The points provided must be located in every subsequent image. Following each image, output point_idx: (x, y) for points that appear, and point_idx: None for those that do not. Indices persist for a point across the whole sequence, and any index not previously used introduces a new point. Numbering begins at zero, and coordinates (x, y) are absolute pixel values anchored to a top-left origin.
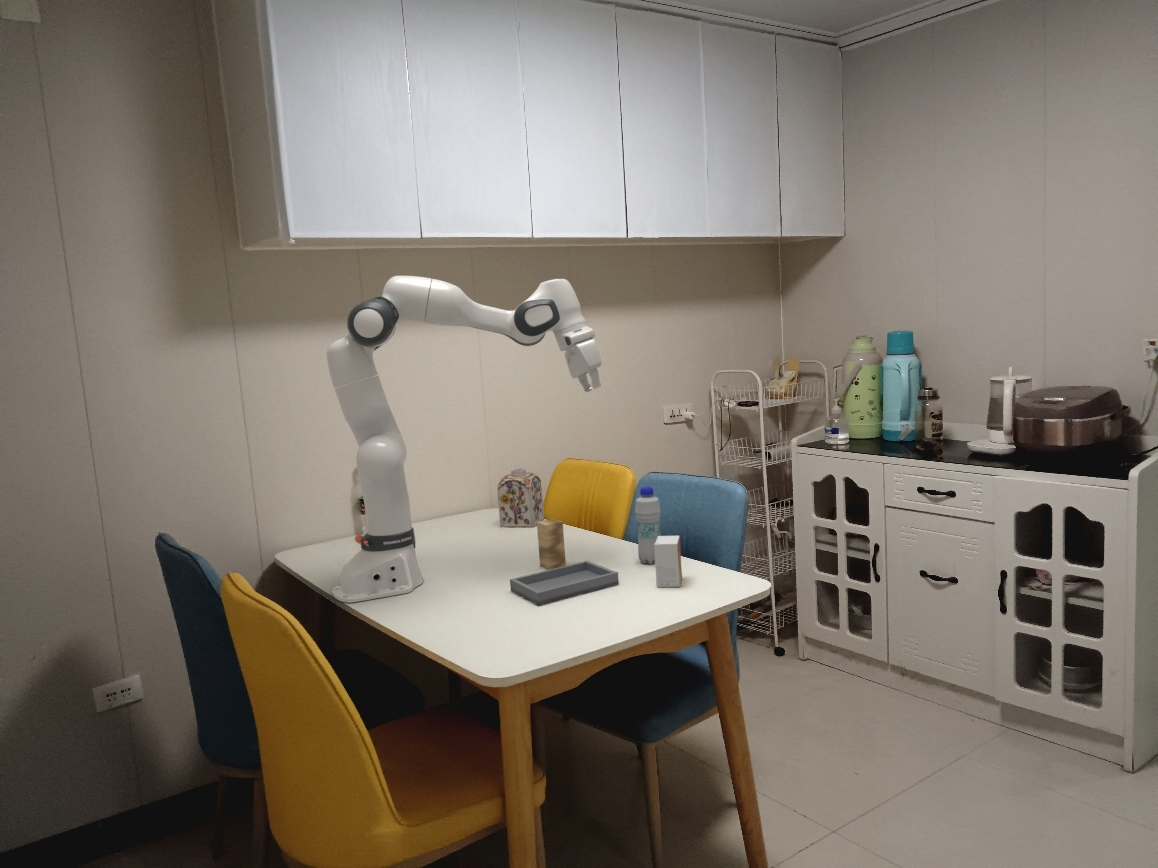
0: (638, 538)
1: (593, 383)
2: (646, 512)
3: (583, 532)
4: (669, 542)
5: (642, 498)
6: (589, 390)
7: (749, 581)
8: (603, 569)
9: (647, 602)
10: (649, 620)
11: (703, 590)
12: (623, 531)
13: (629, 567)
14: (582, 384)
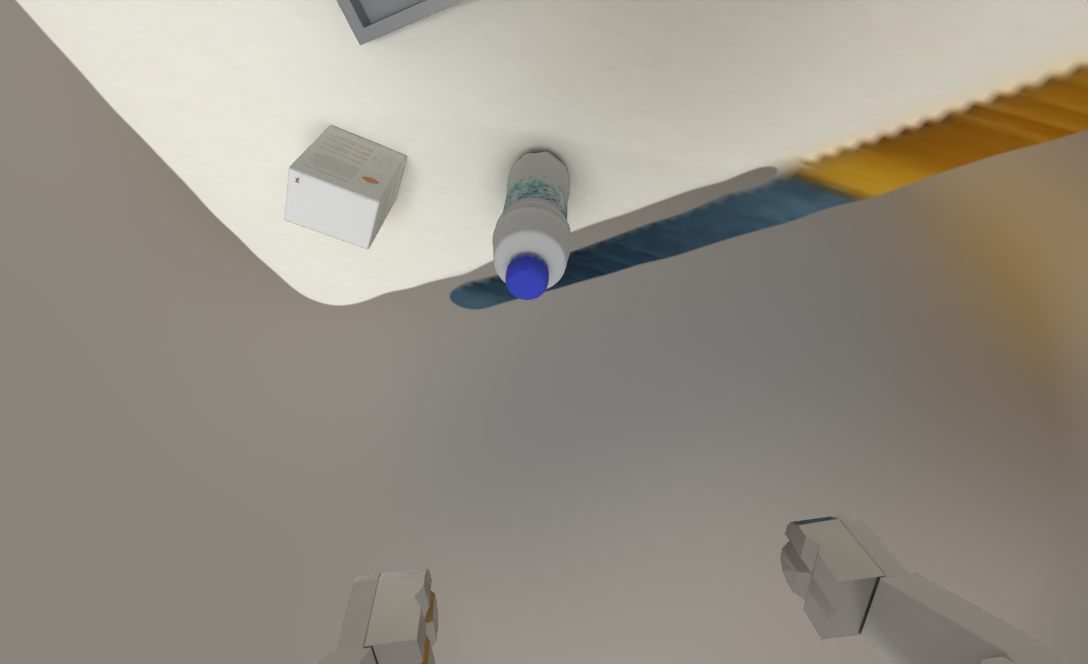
0: (537, 175)
1: (341, 630)
2: (494, 231)
3: (968, 79)
4: (299, 207)
5: (515, 250)
6: (789, 550)
7: (341, 293)
8: (403, 10)
9: (221, 68)
10: (91, 33)
11: None
12: (864, 196)
13: (513, 110)
14: (912, 602)
